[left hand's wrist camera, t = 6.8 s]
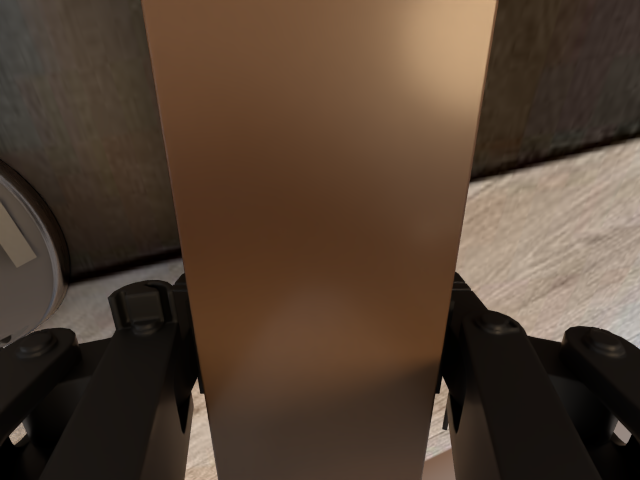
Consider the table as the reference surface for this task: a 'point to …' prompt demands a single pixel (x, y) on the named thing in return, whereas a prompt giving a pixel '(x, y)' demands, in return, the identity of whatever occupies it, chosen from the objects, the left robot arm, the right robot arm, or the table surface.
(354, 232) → the bar
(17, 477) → the left robot arm
